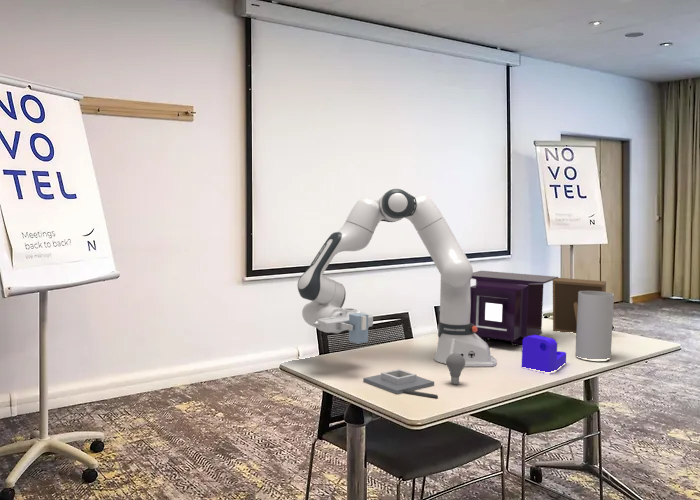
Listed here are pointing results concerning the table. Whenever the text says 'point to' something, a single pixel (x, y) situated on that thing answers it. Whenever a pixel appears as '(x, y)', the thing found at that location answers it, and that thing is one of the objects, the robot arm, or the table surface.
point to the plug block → (358, 328)
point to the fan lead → (420, 393)
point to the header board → (398, 381)
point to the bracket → (541, 353)
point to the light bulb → (455, 366)
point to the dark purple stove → (507, 305)
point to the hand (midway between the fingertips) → (360, 326)
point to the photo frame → (570, 301)
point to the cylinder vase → (594, 324)
